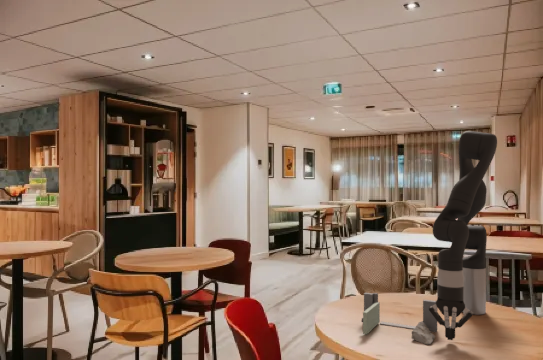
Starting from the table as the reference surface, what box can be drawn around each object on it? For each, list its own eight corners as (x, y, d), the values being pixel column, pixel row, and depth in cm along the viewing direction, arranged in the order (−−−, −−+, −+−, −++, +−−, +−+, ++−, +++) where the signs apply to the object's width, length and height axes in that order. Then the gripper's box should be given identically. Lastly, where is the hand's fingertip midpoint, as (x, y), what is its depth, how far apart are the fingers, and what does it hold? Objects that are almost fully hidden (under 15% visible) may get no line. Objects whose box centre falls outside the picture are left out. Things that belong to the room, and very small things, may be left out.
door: (379, 322, 149) (379, 302, 149) (366, 334, 137) (366, 312, 137) (372, 321, 150) (372, 301, 150) (359, 333, 138) (359, 311, 138)
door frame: (365, 319, 154) (365, 291, 154) (437, 329, 143) (437, 300, 143) (363, 321, 151) (363, 293, 151) (436, 332, 140) (436, 302, 140)
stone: (439, 335, 139) (438, 322, 140) (431, 346, 129) (431, 332, 129) (418, 331, 143) (418, 319, 143) (410, 342, 132) (410, 329, 133)
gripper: (426, 283, 131) (426, 339, 131) (474, 288, 125) (473, 347, 125) (428, 278, 138) (428, 332, 138) (473, 283, 132) (473, 338, 132)
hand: (450, 339), depth 131 cm, fingers closed
